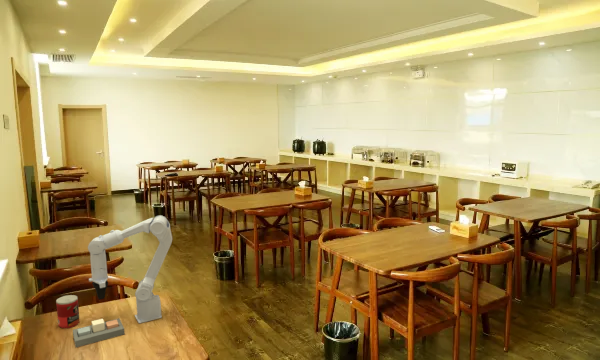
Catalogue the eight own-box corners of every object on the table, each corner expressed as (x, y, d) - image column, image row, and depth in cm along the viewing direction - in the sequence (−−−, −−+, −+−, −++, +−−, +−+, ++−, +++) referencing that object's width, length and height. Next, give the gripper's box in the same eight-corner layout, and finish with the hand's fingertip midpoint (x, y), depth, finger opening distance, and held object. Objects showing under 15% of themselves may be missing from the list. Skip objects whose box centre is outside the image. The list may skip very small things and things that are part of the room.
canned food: (70, 329, 166) (68, 303, 164) (53, 327, 168) (51, 302, 166) (84, 320, 173) (82, 295, 172) (67, 318, 175) (65, 294, 173)
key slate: (89, 333, 162) (89, 326, 161) (90, 337, 158) (90, 330, 158) (78, 336, 159) (77, 329, 159) (79, 341, 156) (78, 333, 156)
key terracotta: (117, 326, 167) (116, 319, 167) (119, 330, 164) (118, 323, 163) (106, 329, 165) (105, 322, 164) (108, 333, 162) (107, 326, 161)
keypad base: (119, 323, 170) (119, 318, 170) (124, 334, 162) (124, 328, 162) (73, 335, 161) (72, 329, 161) (75, 347, 153) (75, 341, 153)
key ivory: (103, 325, 164) (102, 318, 164) (104, 329, 161) (104, 322, 160) (92, 328, 162) (91, 321, 161) (93, 332, 159) (92, 325, 158)
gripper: (85, 263, 172) (88, 294, 174) (90, 274, 160) (93, 307, 162) (104, 260, 176) (106, 290, 178) (110, 270, 164) (112, 303, 166)
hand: (101, 298), depth 170 cm, fingers closed
